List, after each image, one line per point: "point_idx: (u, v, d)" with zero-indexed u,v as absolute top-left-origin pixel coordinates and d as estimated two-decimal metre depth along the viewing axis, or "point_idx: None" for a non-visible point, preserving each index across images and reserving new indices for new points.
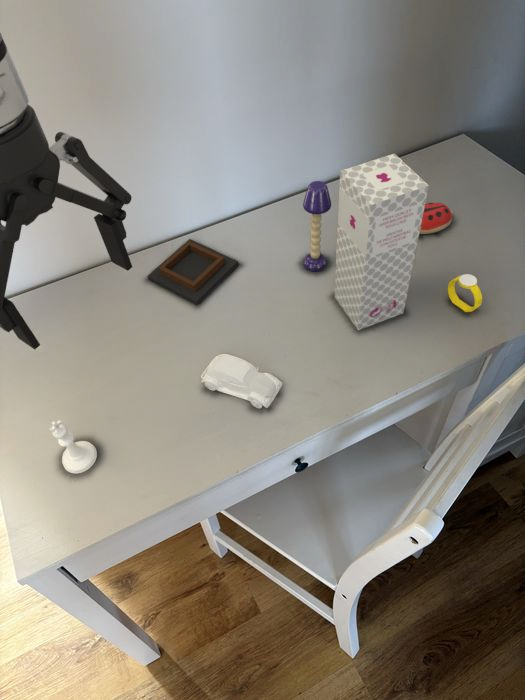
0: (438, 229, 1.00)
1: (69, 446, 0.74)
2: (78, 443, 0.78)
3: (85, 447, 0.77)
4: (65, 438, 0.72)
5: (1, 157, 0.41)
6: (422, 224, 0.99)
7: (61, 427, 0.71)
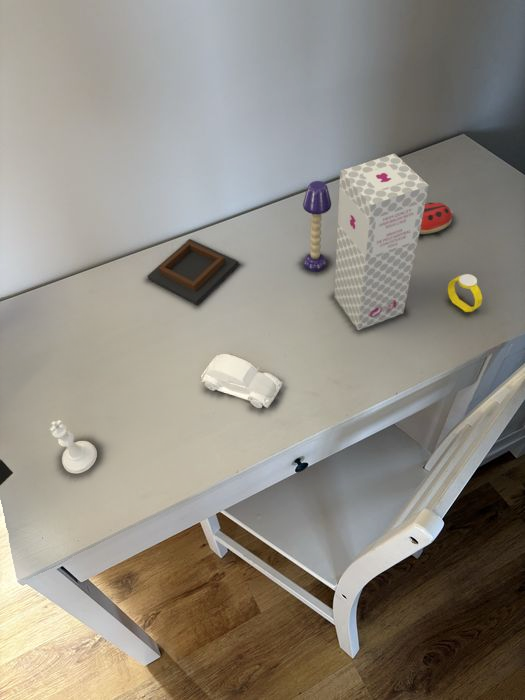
0: (438, 229, 1.00)
1: (69, 446, 0.74)
2: (78, 443, 0.78)
3: (85, 447, 0.77)
4: (65, 438, 0.72)
5: None
6: (422, 224, 0.99)
7: (61, 427, 0.71)
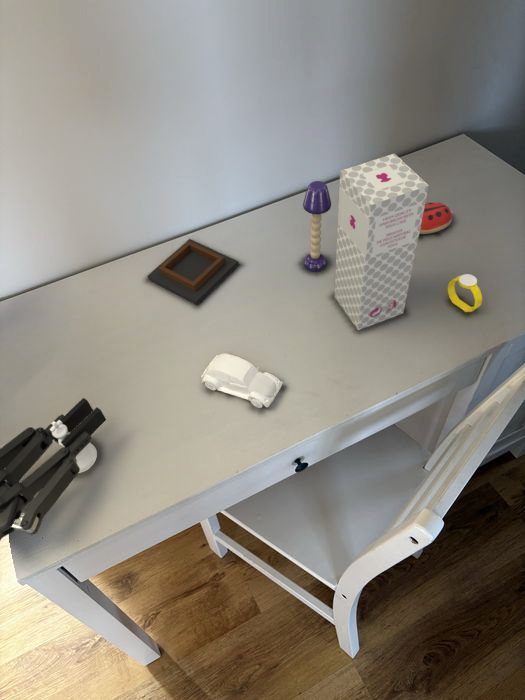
0: (438, 229, 1.00)
1: None
2: None
3: (85, 447, 0.77)
4: None
5: None
6: (422, 224, 0.99)
7: (61, 427, 0.71)
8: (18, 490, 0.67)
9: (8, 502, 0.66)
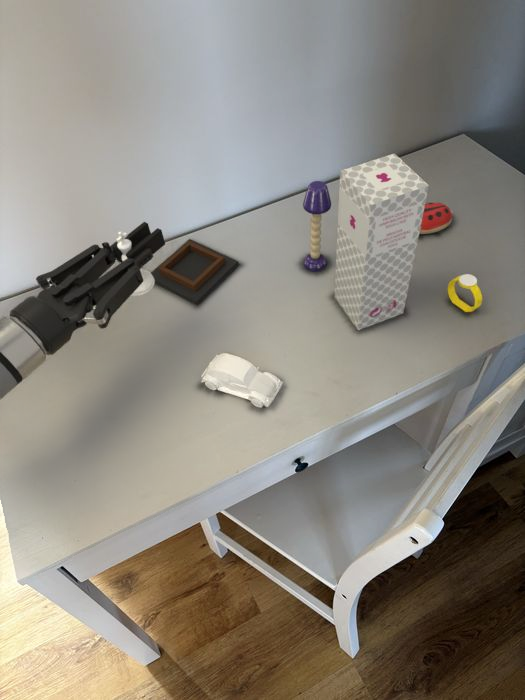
0: (438, 229, 1.00)
1: None
2: None
3: (144, 274, 0.81)
4: None
5: None
6: (422, 224, 0.99)
7: (126, 240, 0.75)
8: (89, 288, 0.71)
9: (80, 298, 0.70)
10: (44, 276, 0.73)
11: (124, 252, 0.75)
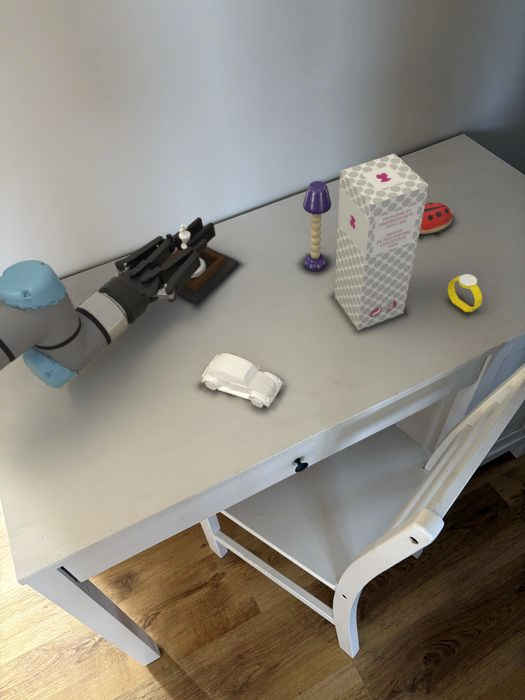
0: (438, 229, 1.00)
1: None
2: None
3: None
4: None
5: None
6: (422, 224, 0.99)
7: (186, 232, 0.92)
8: (160, 270, 0.88)
9: (153, 278, 0.87)
10: (121, 261, 0.91)
11: (184, 241, 0.92)
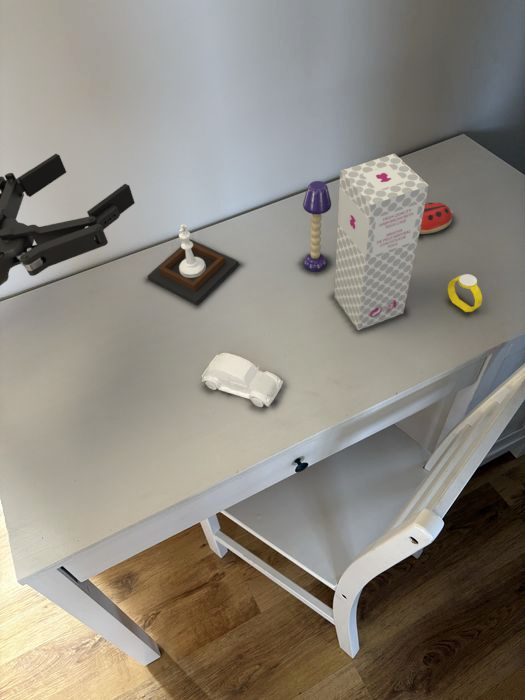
0: (438, 229, 1.00)
1: (189, 252, 0.95)
2: None
3: (197, 259, 0.98)
4: (188, 242, 0.93)
5: None
6: (422, 224, 0.99)
7: (186, 232, 0.92)
8: (30, 230, 0.63)
9: (17, 237, 0.63)
10: None
11: (184, 241, 0.92)
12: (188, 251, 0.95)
